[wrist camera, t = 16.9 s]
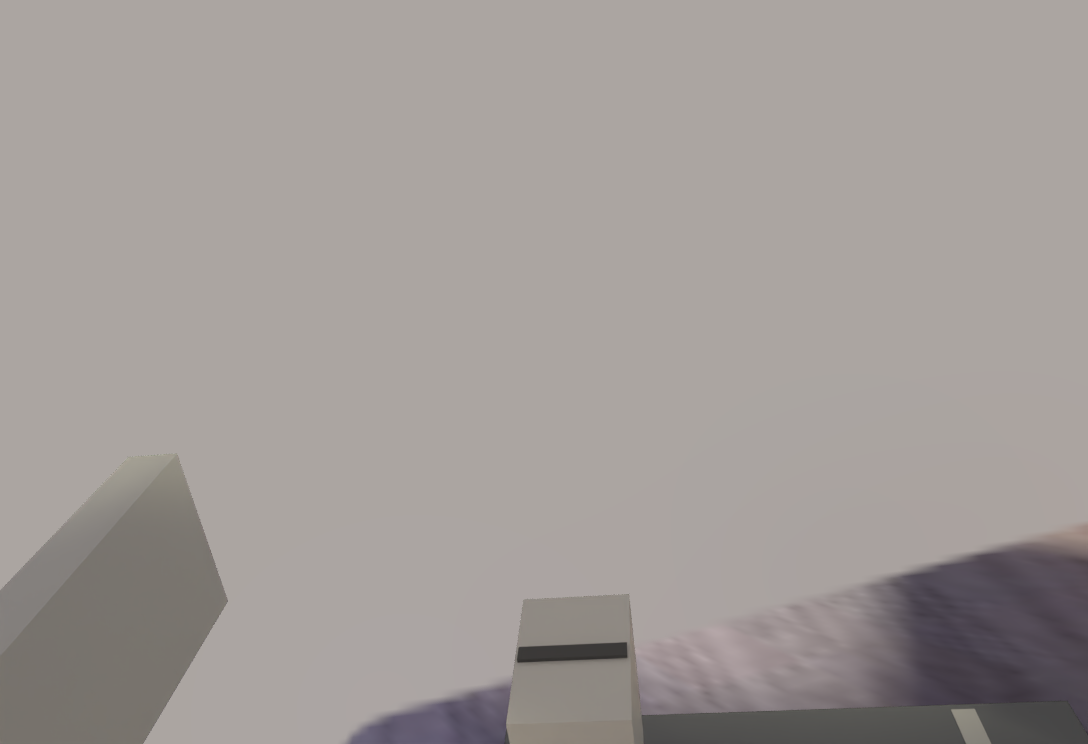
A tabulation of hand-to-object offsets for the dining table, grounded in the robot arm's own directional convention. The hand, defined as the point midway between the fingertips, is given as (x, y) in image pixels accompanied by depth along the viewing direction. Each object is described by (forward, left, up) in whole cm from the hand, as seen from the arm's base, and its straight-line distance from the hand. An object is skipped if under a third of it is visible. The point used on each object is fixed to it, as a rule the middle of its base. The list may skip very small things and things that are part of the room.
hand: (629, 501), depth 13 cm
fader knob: (+3, -13, -25) cm, 28 cm away
